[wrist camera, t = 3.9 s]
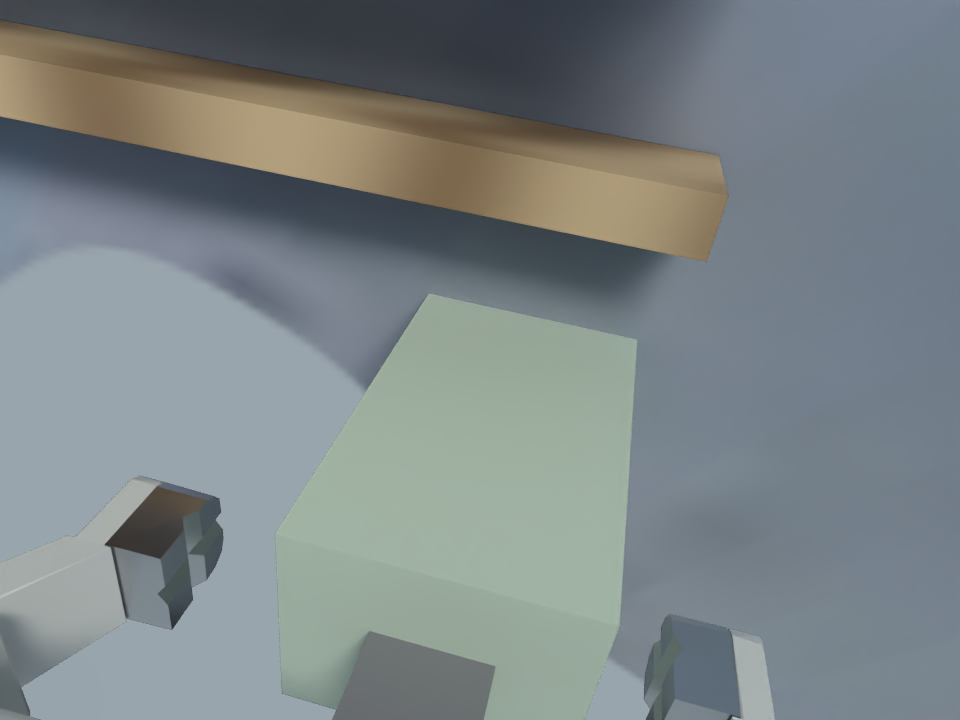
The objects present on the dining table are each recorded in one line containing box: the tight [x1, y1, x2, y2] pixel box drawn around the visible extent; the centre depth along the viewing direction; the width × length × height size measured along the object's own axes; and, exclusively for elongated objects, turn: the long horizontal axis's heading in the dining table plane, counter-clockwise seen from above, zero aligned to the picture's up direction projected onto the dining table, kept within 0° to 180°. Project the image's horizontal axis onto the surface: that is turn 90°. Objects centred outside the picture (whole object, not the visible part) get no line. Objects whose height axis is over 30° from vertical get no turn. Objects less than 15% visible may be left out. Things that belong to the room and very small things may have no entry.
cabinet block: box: [275, 294, 637, 720], centre depth 14 cm, size 5×4×10 cm
